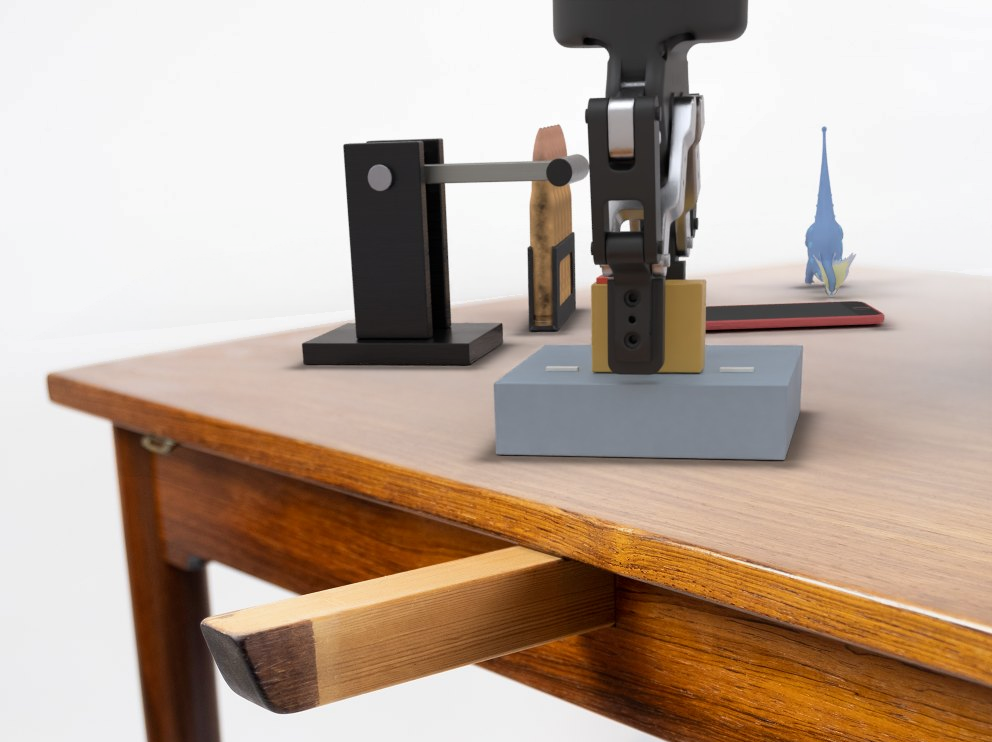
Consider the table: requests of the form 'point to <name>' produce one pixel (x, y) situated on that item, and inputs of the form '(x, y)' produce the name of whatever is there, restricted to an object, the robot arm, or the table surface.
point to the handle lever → (510, 171)
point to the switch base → (651, 406)
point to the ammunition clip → (550, 242)
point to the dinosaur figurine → (826, 238)
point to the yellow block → (680, 326)
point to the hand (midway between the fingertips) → (647, 358)
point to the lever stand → (399, 265)
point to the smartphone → (791, 315)
